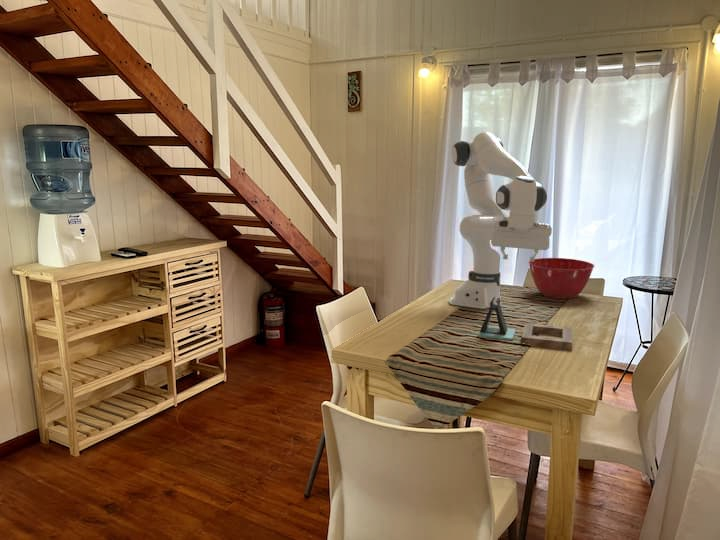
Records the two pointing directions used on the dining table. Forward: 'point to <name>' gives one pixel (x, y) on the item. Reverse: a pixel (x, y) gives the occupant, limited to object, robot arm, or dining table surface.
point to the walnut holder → (546, 341)
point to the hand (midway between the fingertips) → (518, 260)
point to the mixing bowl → (560, 276)
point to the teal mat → (508, 335)
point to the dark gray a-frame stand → (500, 318)
